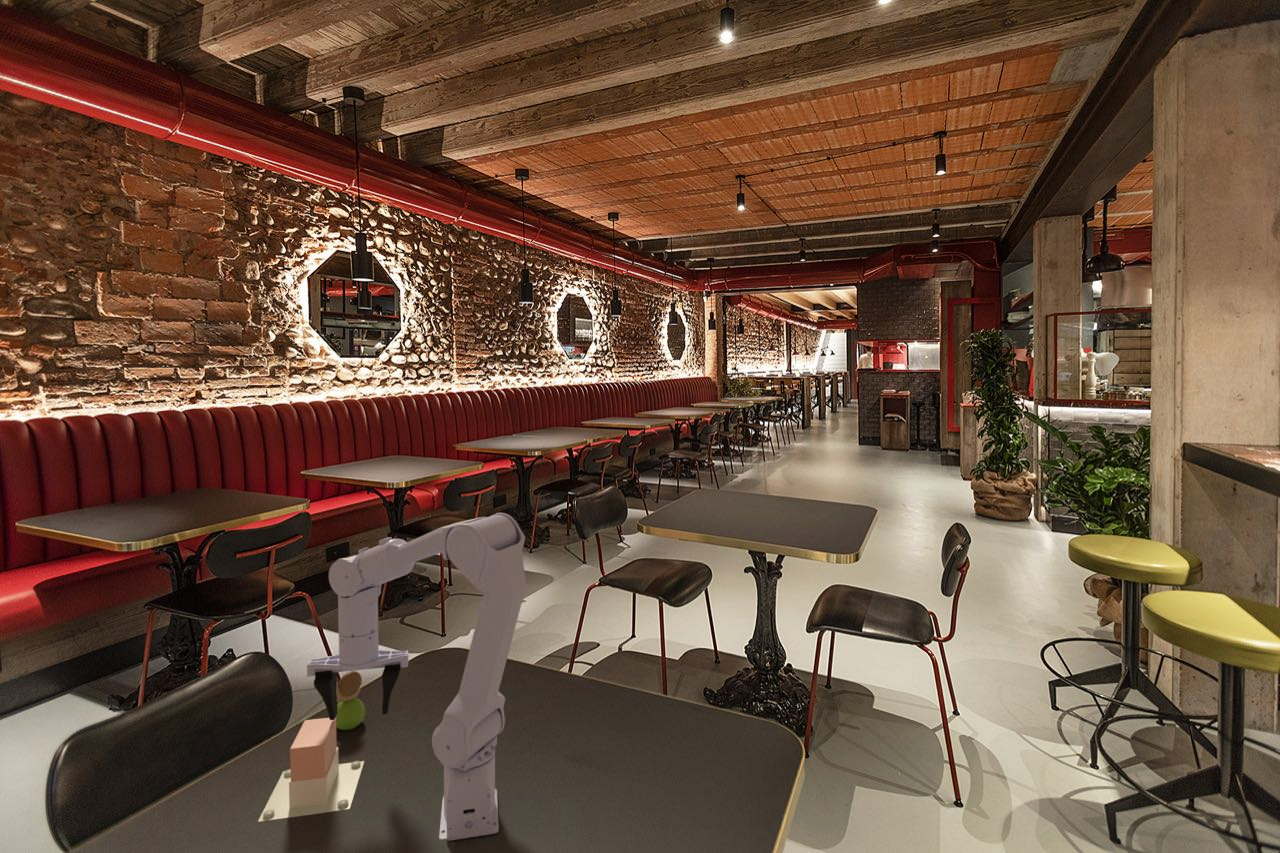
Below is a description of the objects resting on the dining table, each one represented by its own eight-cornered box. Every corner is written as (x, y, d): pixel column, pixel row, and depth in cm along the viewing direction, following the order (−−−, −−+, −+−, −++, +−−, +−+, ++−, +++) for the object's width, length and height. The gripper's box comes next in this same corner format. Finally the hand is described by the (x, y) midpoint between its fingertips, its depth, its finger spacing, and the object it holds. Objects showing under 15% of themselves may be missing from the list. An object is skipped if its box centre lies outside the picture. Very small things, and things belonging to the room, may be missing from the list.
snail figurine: (320, 733, 111) (319, 668, 111) (352, 717, 117) (351, 655, 116) (340, 742, 109) (339, 675, 108) (371, 725, 115) (371, 661, 114)
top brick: (324, 777, 92) (324, 744, 92) (290, 781, 91) (290, 748, 90) (336, 747, 100) (336, 716, 99) (305, 750, 98) (305, 720, 98)
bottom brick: (326, 803, 92) (326, 777, 92) (289, 808, 91) (288, 782, 91) (338, 771, 100) (338, 747, 100) (304, 775, 99) (303, 751, 98)
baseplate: (349, 812, 91) (349, 806, 91) (257, 825, 88) (257, 819, 88) (364, 764, 103) (364, 758, 103) (283, 774, 100) (283, 768, 100)
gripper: (410, 617, 104) (410, 696, 105) (314, 624, 100) (315, 706, 101) (405, 633, 97) (406, 718, 98) (302, 642, 93) (304, 730, 94)
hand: (359, 713), depth 99 cm, fingers open, 7 cm apart
